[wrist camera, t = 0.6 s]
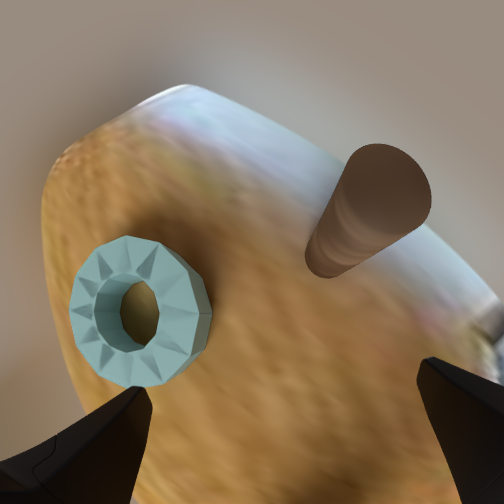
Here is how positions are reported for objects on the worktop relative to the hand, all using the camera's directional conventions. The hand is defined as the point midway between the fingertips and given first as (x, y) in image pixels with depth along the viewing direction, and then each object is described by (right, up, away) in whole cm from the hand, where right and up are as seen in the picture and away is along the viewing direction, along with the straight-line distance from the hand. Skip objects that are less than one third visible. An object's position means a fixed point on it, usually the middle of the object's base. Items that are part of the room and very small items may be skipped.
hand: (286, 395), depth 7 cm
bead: (-10, -1, +14) cm, 17 cm away
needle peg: (+5, +4, +14) cm, 15 cm away
